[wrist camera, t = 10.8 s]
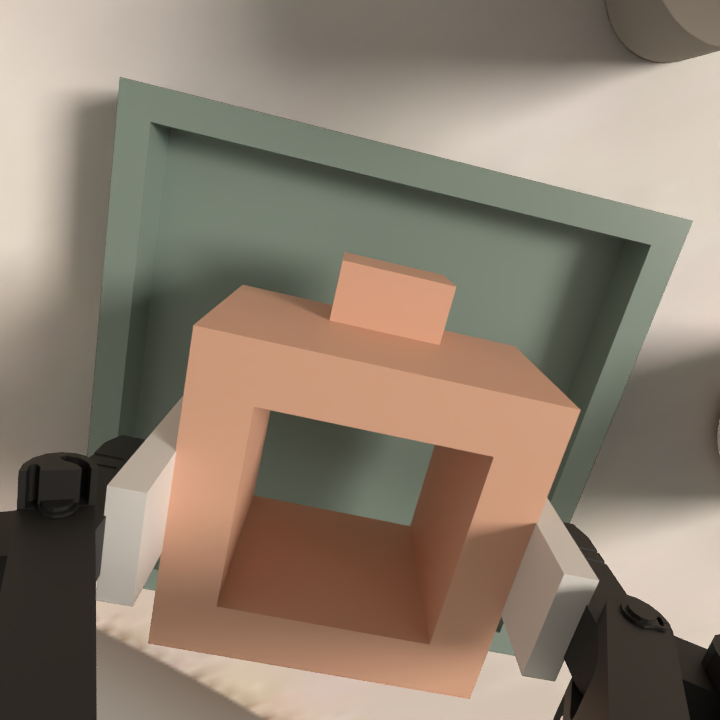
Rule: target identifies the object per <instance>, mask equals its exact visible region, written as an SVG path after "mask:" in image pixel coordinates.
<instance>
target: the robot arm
mask: <svg viewBox="0 0 720 720" xmlns="http://www.w3.org/2000/svg"><path fill="white" fill-rule="evenodd" d="M182 402H183V397H182V398H181V399H180V400H179V401H178V402H177V404H176V405H175V406H174V407H173V408H172V409H171V411H170V412H169V413H168V414H167V415H166V417H165V418H164V419H163V420H162V421H161V422H160V424H159V425H158V426H157V427H156V428H155V430H154V431H153V432H152V433H151V434H150V435H149V437H148V438H147V439H146V440H145V439H140V438H135V437H130V436H125V435H120V436H118V437H116V438H113V439H111V440H109V441H106V442H104V443H103V444H102V445H101V446H100V447H99V448H98V449H97V450H96V451H95V452H94V455H91V456H90V457H87V456H83V455H80V454H76V453H64V452H60V453H50V454H44V455H41V456H38V457H34V458H32V459H31V460H29V461H27V462H26V463H24V464H23V465H22V467H21V468H20V470H19V477H18V499H17V510H15V511H7V512H0V720H96V600H97V601H103V602H108V603H114V604H120V605H125V606H131V607H133V605H134V603H135V601H136V599H137V597H138V596H139V594H140V592H141V590H142V588H143V586H144V584H145V583H146V581H147V579H148V577H149V575H150V573H151V571H152V570H153V568H154V566H155V564H156V562H157V560H158V558H159V557H160V555H161V553H162V548H163V541H164V534H165V527H166V520H167V513H168V506H169V499H170V492H171V485H172V478H173V471H174V464H175V457H176V444H177V437H178V430H179V423H180V416H181V409H182ZM96 581H97V588H96ZM501 616H502V619H503V622H504V625H505V628H506V631H507V633H508V636H509V639H510V642H511V645H512V648H513V651H514V654H515V657H516V660H517V662H518V665H519V668H520V671H521V674H522V676H527V677H532V678H538V679H544V680H549V681H555V680H556V678H557V676H558V673H559V671H560V669H561V667H562V664H563V662H564V660H565V662H566V664H567V666H568V669H569V671H570V673H571V675H572V678H571V681H570V683H569V685H568V687H567V689H566V692H565V694H564V696H563V698H562V701H561V703H560V705H559V707H558V709H557V712H556V714H555V716H554V719H553V720H560V718H561V716H563V720H720V634H719V635H715V636H714V638H713V640H712V642H711V644H710V646H709V648H708V649H705V648H703V647H700V646H698V645H695V644H693V643H690V642H688V641H686V640H683V639H681V638H678V637H676V636H674V635H673V631H672V629H671V627H670V624H669V623H668V621H667V620H666V619H665V618H664V617H663V616H662V615H661V614H660V613H659V612H658V611H657V610H655V609H654V608H653V607H651V606H650V605H649V604H647V603H645V602H643V601H641V600H639V599H638V598H635V597H632V596H629V595H627V594H626V593H625V591H624V590H623V588H622V587H621V585H620V584H619V582H618V581H617V579H616V578H615V576H614V575H613V573H612V572H611V570H610V569H609V567H608V566H607V564H604V560H603V559H602V557H601V556H600V554H599V553H597V550H596V548H595V547H594V545H593V544H592V542H591V541H590V539H589V538H588V537H587V536H586V535H585V534H584V533H583V532H581V531H580V530H579V529H578V528H577V527H576V526H575V525H573V524H570V523H565V522H562V521H561V519H560V517H559V516H558V514H557V513H556V511H555V509H554V508H553V506H552V505H551V503H550V502H549V500H548V498H547V499H546V502H545V504H544V507H543V510H542V512H541V515H540V517H539V520H538V523H536V525H535V528H534V530H533V533H532V536H531V538H530V541H529V543H528V546H527V549H526V551H525V554H524V556H523V559H522V562H521V564H520V567H519V569H518V572H517V575H516V577H515V580H514V582H513V585H512V588H511V590H510V593H509V595H508V598H507V601H506V603H505V606H504V608H503V611H502V614H501Z"/></svg>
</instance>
